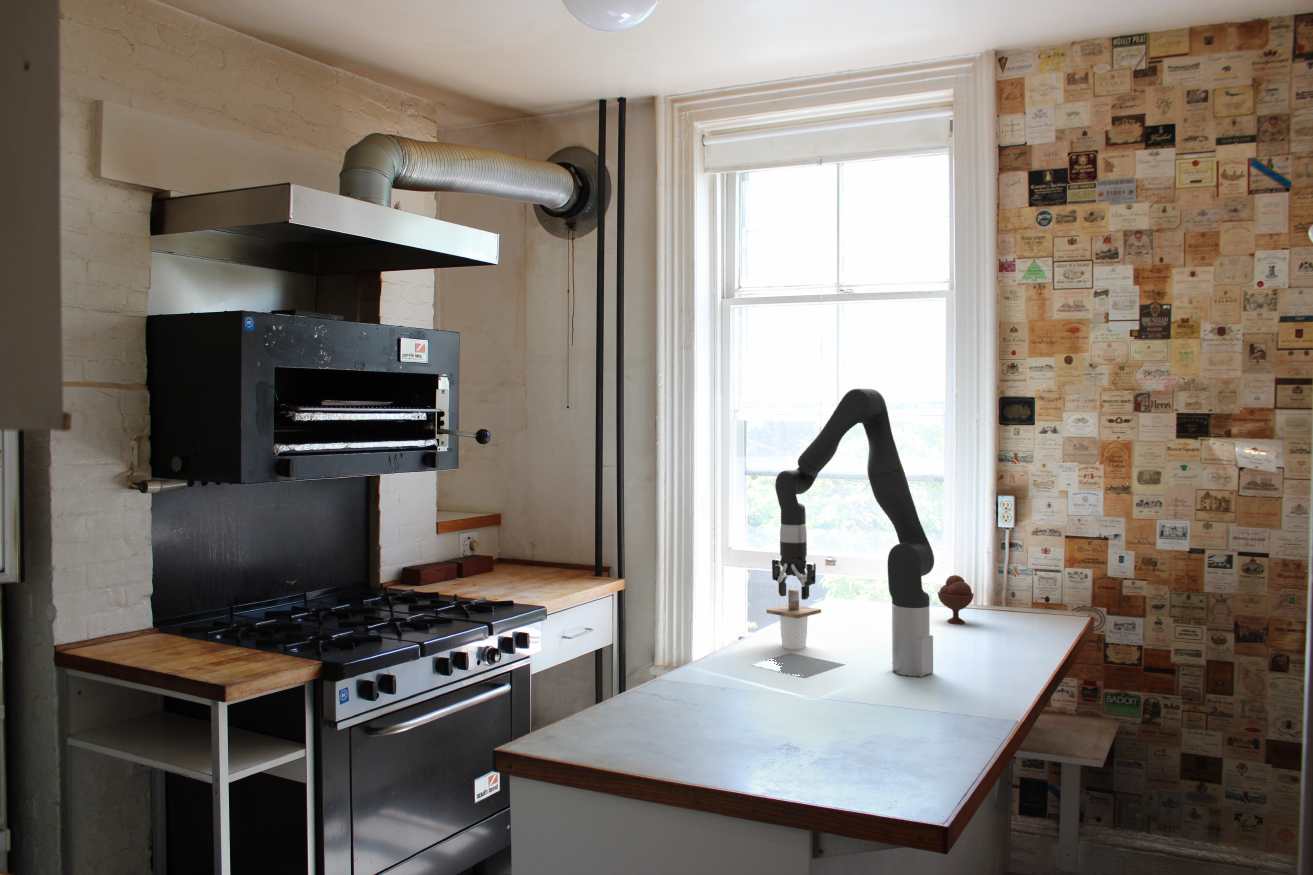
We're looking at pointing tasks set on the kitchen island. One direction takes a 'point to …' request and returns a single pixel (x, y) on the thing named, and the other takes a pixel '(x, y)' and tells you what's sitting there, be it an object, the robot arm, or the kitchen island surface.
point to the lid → (793, 607)
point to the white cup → (793, 632)
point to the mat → (803, 665)
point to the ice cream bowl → (955, 597)
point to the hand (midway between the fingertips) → (793, 597)
